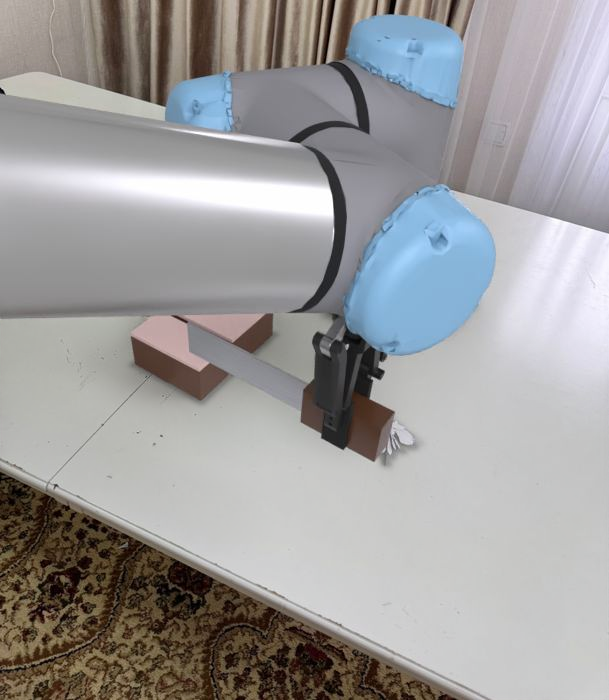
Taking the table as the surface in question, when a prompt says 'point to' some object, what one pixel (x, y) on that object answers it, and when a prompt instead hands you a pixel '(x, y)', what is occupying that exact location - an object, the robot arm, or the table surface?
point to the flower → (403, 437)
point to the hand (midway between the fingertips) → (343, 430)
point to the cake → (235, 328)
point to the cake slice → (173, 356)
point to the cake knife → (295, 392)
